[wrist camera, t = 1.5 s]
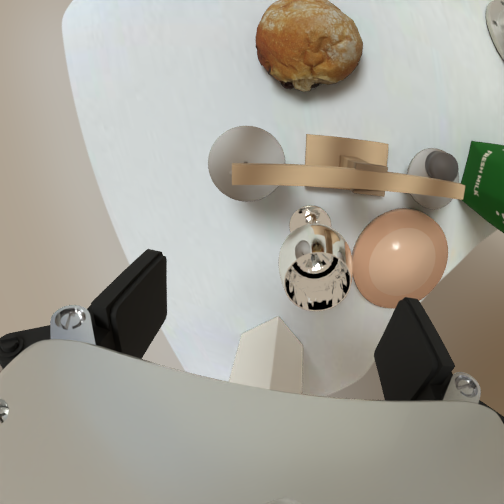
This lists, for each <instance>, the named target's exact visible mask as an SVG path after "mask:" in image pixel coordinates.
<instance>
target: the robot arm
mask: <svg viewBox="0 0 504 504" xmlns="http://www.w3.org/2000/svg"><path fill="white" fill-rule="evenodd" d="M486 20H487V25H488V29H489V32H490V35H491V37H492V40H493V42H494V44H495V46H496V48H497V50H498V52H499V53H500V55H501V57H502V59H503V60H504V0H494V1H492V2H490V3H489V5H488V6H487V9H486ZM166 262H167V261H166V257H165V256H163V254H162V252H160V251H155V250H150V249H147V250H146V251H145V252H144V253H143V254H142V255H141V256H139V257H138V258H137V259H136V260H135V261H134V262H133V263H132V264H131V265H130V266H129V267H128V268H127V269H125V270H124V271H123V272H122V273H121V274H120V275H119V276H118V277H117V278H116V279H115V280H114V281H113V282H112V283H111V284H110V285H109V286H108V287H107V288H106V289H105V290H104V291H103V292H102V293H101V294H100V295H99V296H98V297H97V298H96V299H95V300H94V301H93V302H92V303H91V305H90V306H89V308H88V309H86V308H84V307H81V306H77V305H69V306H65V307H62V308H60V309H58V310H57V311H56V312H55V313H54V314H53V315H52V317H51V322H50V323H51V324H50V325H49V326H44V327H39V328H34V329H29V330H24V331H18V332H13V333H9V334H6V335H4V336H3V337H1V338H0V504H504V417H503V416H502V415H500V414H499V413H498V412H496V411H495V410H493V409H492V408H490V407H489V406H487V405H486V404H484V403H483V402H481V401H480V400H479V399H480V394H481V390H480V386H479V384H478V382H477V381H476V380H475V379H474V378H473V377H471V376H470V375H469V374H466V373H463V372H457V373H455V374H454V375H453V374H452V372H451V371H452V370H453V369H454V367H455V365H454V363H453V361H452V359H451V357H450V355H449V353H448V351H447V349H446V347H445V346H444V344H443V342H442V340H441V338H440V336H439V334H438V333H437V331H436V329H435V327H434V325H433V324H432V322H431V320H430V319H429V317H428V315H427V314H426V312H425V310H424V308H423V307H422V305H421V303H420V302H419V300H418V299H415V298H408V297H404V298H403V299H402V300H400V301H399V302H398V304H397V306H396V308H395V310H394V312H393V315H392V317H391V319H390V321H389V323H388V325H387V327H386V330H385V332H384V334H383V336H382V338H381V340H380V342H379V344H378V346H377V347H376V350H375V353H374V358H375V362H376V366H377V369H378V373H379V377H380V381H381V385H382V390H383V394H384V398H385V400H362V399H347V398H335V397H324V396H314V395H306V394H298V393H290V392H283V391H277V390H270V389H264V388H258V387H253V386H247V385H242V384H237V383H232V382H227V381H223V380H218V379H214V378H209V377H205V376H201V375H197V374H193V373H189V372H185V371H181V370H177V369H174V368H170V367H166V366H163V365H160V364H156V363H153V362H150V361H146V360H143V359H142V357H143V355H144V354H145V352H146V350H147V349H148V347H149V345H150V344H151V342H152V341H153V339H154V337H155V336H156V334H157V332H158V331H159V329H160V328H161V326H162V324H163V323H164V321H165V319H166V316H167V284H166Z"/></svg>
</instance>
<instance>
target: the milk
mask: <svg viewBox="0 0 504 504" xmlns="http://www.w3.org/2000/svg"><path fill="white" fill-rule="evenodd" d="M302 378H303V345H302V343H301V342H300V341H299V340H298V339H297V337H296V336H295V335H294V334H293V333H292V332H291V330H290V329H289V328H288V327H287V326H286V324H285V323H284V322H283V321H282V320H281V318H280V317H279V316H277V317H275V318H273V319H271V320H269V321H267V322H265V323H263V324H261V325H259V326H257V327H255V328H253V329H251V330H249V331H247V332H245V333H243V334H242V335H241V338H240V342H239V346H238V349H237V353H236V357H235V360H234V364H233V368H232V371H231V375H230V379H229V382H232V383H237V384H242V385H247V386H253V387H258V388H264V389H270V390H277V391H283V392H290V393H298V394H302Z"/></svg>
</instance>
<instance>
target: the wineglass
mask: <svg viewBox="0 0 504 504" xmlns="http://www.w3.org/2000/svg"><path fill="white" fill-rule="evenodd" d="M289 228H290V232H291V233H290V234H289V235H288V236H287V238H286V239H285V241H284V242H283V244H282V246H281V249H280V253H279V259H278V267H279V274H280V279H281V282H282V285H283V288H284V290H285V292H286V294H287V296H288V297H289V299H290V300H291V301H292V302H293V303H294V304H295V305H297V306H299V307H300V308H302V309H305V310H309V311H323V310H327V309H330V308H332V307H334V306H336V305H338V304H339V303H340V302H341V301H342V300H343V299H344V298H345V297H346V295H347V294H348V292H349V289H350V286H351V282H352V274H353V261H352V255H351V251H350V248H349V246H348V244H347V242H346V240H345V239H344V238H343V236H342V235H341V234H340V233H339V232H338V231H336V230H335V229H333V228H332V227H331V220H330V217H329V215H328V214H327V213H326V212H325V211H324V210H323V209H322V208H320V207H317V206H312V205H309V206H304V207H301V208H299V209H298V210H296V211H295V212H294V214H293V215H292V217H291V219H290V224H289Z"/></svg>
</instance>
